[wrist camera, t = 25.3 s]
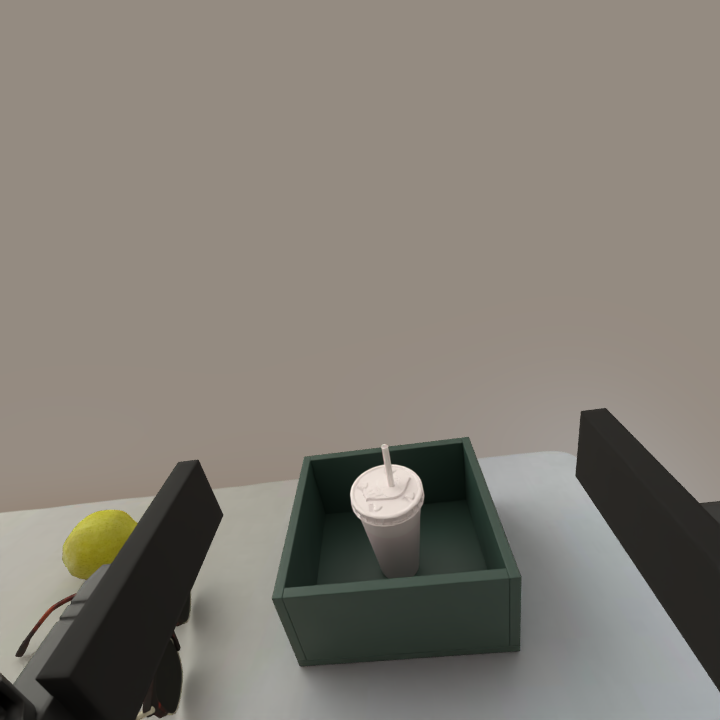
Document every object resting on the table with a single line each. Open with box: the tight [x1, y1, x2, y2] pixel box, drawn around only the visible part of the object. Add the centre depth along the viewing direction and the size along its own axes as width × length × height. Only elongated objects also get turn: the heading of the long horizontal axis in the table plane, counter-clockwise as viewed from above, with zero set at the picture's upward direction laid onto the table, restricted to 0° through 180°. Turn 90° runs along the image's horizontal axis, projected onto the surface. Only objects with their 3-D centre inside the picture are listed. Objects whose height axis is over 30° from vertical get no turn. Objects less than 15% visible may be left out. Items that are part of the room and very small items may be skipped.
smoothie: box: [350, 444, 424, 579], centre depth 35 cm, size 6×6×14 cm
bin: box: [272, 437, 521, 666], centre depth 36 cm, size 18×16×9 cm
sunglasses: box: [15, 592, 191, 720], centre depth 32 cm, size 14×16×5 cm
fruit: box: [62, 510, 138, 580], centre depth 44 cm, size 7×7×12 cm
